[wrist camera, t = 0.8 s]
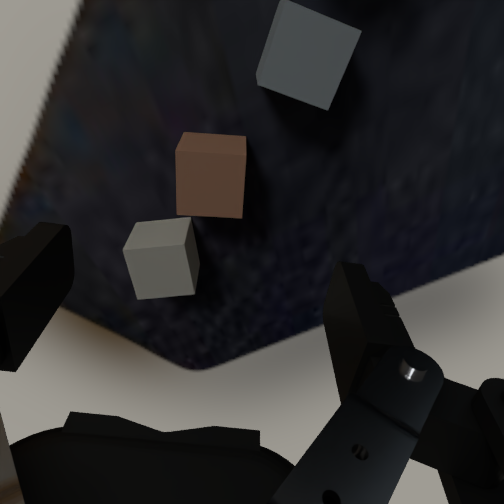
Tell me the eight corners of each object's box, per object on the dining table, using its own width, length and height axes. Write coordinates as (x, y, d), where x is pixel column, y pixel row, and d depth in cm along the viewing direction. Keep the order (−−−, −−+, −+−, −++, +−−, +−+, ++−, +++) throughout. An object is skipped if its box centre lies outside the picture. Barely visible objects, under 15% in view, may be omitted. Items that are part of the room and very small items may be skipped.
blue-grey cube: (344, 27, 29) (361, 31, 25) (316, 96, 32) (327, 110, 28) (279, 0, 29) (286, -1, 24) (255, 73, 31) (257, 84, 27)
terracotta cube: (245, 136, 33) (246, 155, 29) (241, 193, 36) (242, 218, 32) (184, 131, 33) (175, 150, 29) (184, 189, 36) (176, 214, 31)
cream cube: (190, 216, 37) (184, 244, 33) (199, 263, 40) (194, 294, 35) (136, 222, 37) (122, 250, 33) (149, 267, 40) (137, 299, 35)
